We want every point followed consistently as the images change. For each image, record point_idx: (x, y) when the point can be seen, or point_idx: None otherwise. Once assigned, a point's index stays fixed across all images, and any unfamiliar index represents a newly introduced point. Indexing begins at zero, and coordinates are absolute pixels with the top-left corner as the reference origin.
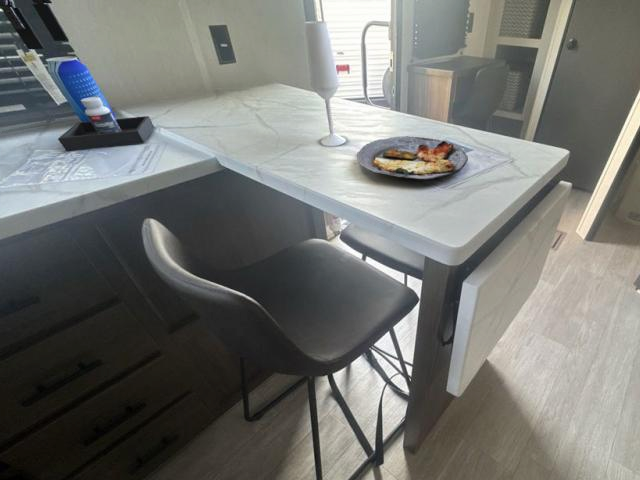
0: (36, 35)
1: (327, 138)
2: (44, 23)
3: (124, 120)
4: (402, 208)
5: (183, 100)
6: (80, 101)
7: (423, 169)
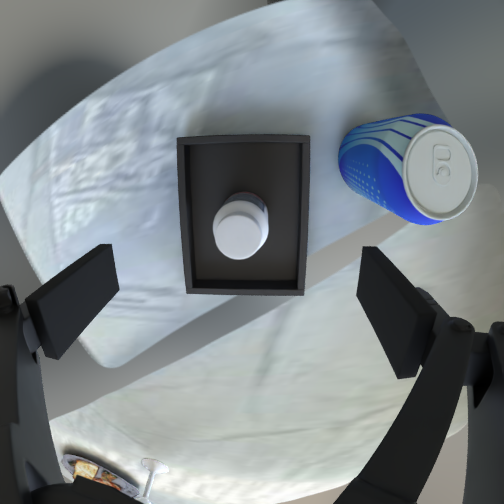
0: (100, 308)
1: (148, 465)
2: (386, 273)
3: (299, 242)
4: None
5: (482, 301)
6: (352, 160)
7: (76, 470)
